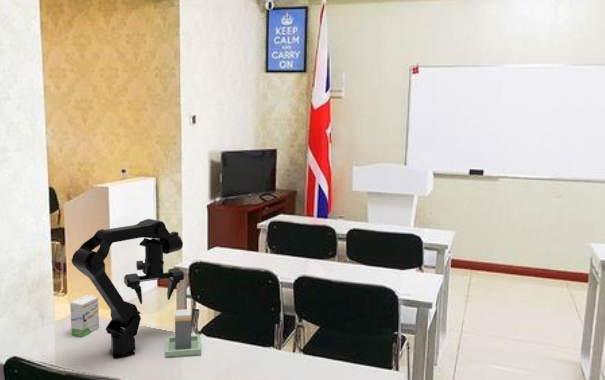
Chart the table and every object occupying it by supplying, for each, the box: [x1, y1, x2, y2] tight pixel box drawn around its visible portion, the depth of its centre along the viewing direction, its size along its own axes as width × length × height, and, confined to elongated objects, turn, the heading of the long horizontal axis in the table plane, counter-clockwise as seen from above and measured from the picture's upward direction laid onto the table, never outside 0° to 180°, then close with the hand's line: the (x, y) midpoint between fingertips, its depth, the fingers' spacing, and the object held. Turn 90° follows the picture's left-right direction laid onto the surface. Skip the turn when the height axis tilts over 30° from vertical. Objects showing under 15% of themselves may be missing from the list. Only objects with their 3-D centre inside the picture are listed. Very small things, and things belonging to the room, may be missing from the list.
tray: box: [164, 334, 202, 359], centre depth 167 cm, size 11×11×2 cm
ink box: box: [69, 294, 100, 338], centre depth 177 cm, size 8×5×12 cm, turn 162°
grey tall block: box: [174, 308, 192, 350], centre depth 166 cm, size 5×5×12 cm
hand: (154, 301), depth 172 cm, fingers open, 9 cm apart
